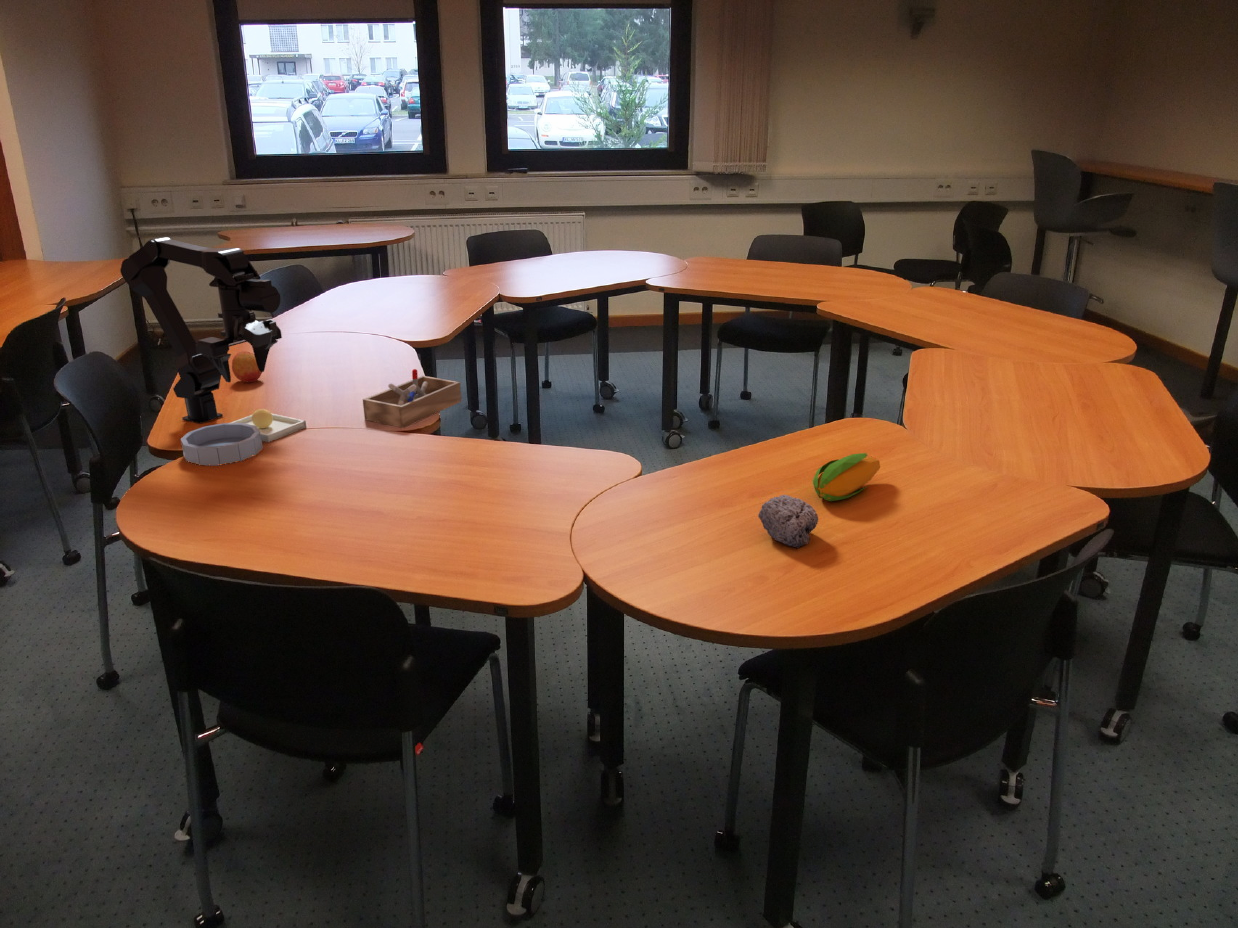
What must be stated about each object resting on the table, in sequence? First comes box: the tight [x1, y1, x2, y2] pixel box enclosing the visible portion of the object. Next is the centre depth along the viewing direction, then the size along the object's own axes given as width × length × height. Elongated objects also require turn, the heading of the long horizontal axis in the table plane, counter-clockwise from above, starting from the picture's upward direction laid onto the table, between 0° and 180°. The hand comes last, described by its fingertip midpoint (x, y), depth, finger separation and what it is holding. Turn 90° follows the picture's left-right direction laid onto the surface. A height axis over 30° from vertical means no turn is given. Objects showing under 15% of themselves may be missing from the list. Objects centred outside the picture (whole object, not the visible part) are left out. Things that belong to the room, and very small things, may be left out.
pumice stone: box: [757, 494, 819, 549], centre depth 154 cm, size 10×8×10 cm
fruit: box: [231, 351, 263, 384], centre depth 237 cm, size 8×8×8 cm
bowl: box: [180, 422, 264, 466], centre depth 191 cm, size 15×15×4 cm
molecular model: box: [388, 368, 428, 405], centre depth 215 cm, size 18×8×10 cm, turn 174°
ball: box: [251, 408, 273, 428], centre depth 203 cm, size 4×4×4 cm
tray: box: [230, 412, 307, 443], centre depth 204 cm, size 14×11×2 cm
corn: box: [812, 452, 881, 502], centre depth 172 cm, size 7×8×20 cm
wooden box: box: [362, 375, 462, 429], centre depth 216 cm, size 12×22×5 cm, turn 152°
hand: (245, 376), depth 202 cm, fingers open, 9 cm apart
